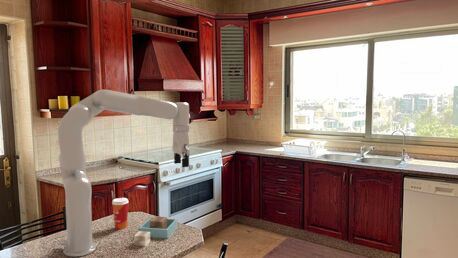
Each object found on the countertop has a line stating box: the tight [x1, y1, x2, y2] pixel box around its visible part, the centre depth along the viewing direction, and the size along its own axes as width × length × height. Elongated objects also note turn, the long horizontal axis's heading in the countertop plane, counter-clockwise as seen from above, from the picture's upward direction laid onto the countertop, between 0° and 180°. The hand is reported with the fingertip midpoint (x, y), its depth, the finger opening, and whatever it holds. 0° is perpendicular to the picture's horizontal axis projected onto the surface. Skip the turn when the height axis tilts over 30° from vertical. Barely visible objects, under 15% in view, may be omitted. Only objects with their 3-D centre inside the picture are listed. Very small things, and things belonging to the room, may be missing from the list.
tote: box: [138, 217, 178, 239], centre depth 159 cm, size 14×14×4 cm
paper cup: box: [111, 197, 130, 230], centre depth 164 cm, size 8×8×14 cm
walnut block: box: [150, 215, 168, 229], centre depth 159 cm, size 6×6×6 cm
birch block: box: [133, 230, 151, 247], centre depth 146 cm, size 5×5×5 cm
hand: (181, 165), depth 160 cm, fingers open, 9 cm apart
